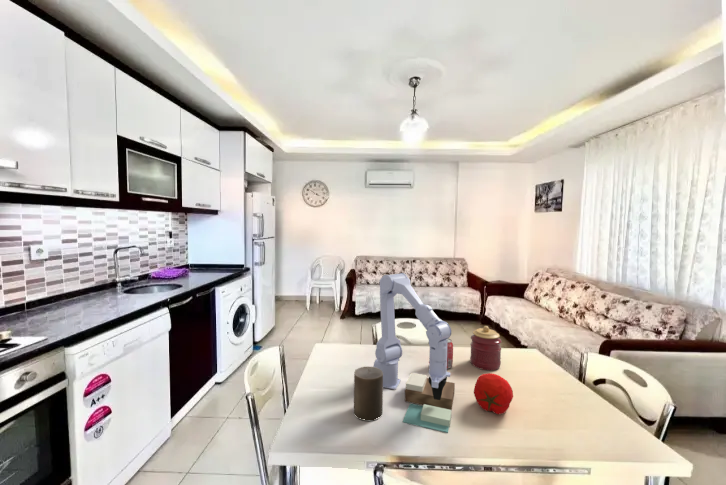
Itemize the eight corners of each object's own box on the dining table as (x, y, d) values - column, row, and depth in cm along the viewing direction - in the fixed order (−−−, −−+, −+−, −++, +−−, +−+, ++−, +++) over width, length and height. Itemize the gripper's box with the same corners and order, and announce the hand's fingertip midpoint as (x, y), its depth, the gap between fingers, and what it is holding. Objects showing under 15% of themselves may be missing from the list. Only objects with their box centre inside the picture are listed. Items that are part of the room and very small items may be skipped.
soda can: (439, 361, 144) (440, 336, 143) (454, 365, 140) (455, 339, 139) (433, 367, 138) (434, 340, 138) (449, 371, 134) (449, 344, 134)
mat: (402, 422, 99) (402, 421, 99) (409, 403, 109) (409, 403, 109) (447, 433, 94) (448, 432, 94) (451, 412, 104) (451, 411, 104)
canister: (471, 369, 137) (472, 329, 136) (468, 357, 149) (469, 320, 148) (503, 372, 134) (504, 332, 133) (497, 359, 146) (498, 322, 145)
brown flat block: (405, 401, 111) (405, 390, 111) (412, 385, 122) (412, 375, 122) (451, 411, 105) (451, 399, 105) (454, 393, 116) (454, 383, 116)
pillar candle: (378, 424, 98) (379, 377, 97) (349, 418, 101) (350, 372, 100) (385, 407, 107) (386, 364, 107) (358, 402, 110) (359, 360, 110)
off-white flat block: (422, 392, 110) (422, 386, 109) (405, 388, 112) (405, 383, 112) (426, 380, 118) (426, 375, 118) (411, 377, 120) (411, 372, 120)
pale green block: (423, 404, 105) (423, 409, 105) (420, 414, 100) (420, 420, 100) (451, 409, 102) (451, 415, 102) (449, 420, 96) (449, 426, 96)
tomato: (490, 405, 114) (482, 425, 103) (471, 372, 117) (461, 388, 106) (523, 396, 108) (518, 416, 97) (502, 361, 111) (495, 377, 100)
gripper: (448, 370, 95) (447, 413, 96) (452, 352, 109) (451, 390, 110) (425, 366, 98) (424, 408, 99) (432, 349, 111) (431, 386, 112)
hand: (437, 398), depth 104 cm, fingers closed
